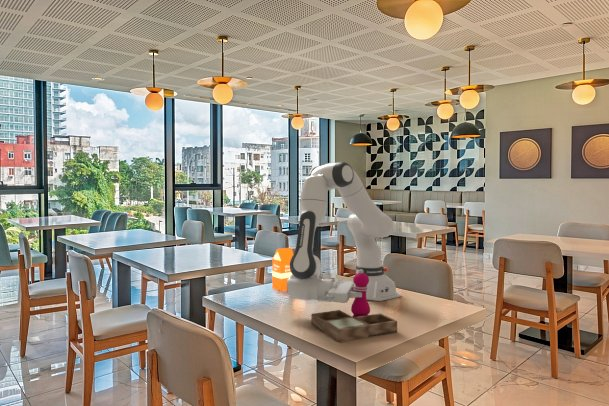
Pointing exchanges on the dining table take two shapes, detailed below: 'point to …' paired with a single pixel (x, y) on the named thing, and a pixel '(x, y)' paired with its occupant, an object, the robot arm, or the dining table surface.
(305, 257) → the robot arm
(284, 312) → the dining table surface
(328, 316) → the box
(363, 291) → the pepper mill
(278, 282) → the orange juice
